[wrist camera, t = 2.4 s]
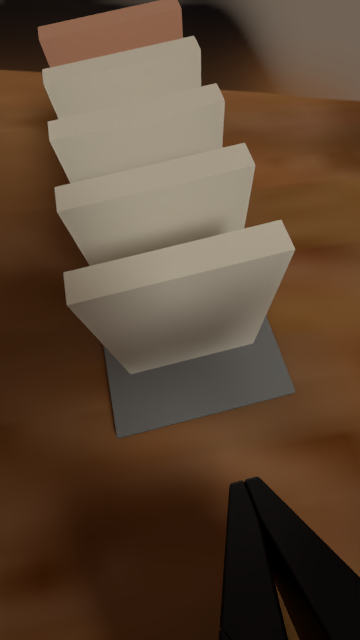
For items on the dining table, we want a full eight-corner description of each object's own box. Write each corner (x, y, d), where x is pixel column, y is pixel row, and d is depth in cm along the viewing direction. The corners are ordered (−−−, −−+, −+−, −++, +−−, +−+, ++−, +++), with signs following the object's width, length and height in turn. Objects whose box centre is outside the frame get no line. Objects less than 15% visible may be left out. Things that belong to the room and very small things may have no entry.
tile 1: (253, 343, 24) (295, 249, 13) (130, 374, 24) (66, 305, 13) (246, 324, 25) (281, 219, 14) (126, 354, 24) (63, 272, 13)
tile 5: (189, 162, 32) (181, 8, 21) (96, 184, 32) (39, 39, 21) (185, 151, 32) (175, -3, 22) (94, 172, 32) (37, 27, 21)
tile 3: (216, 240, 28) (224, 100, 17) (111, 265, 28) (49, 141, 17) (211, 226, 29) (216, 83, 18) (108, 251, 28) (47, 121, 17)
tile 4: (201, 198, 30) (200, 49, 19) (103, 222, 30) (43, 84, 19) (197, 186, 31) (194, 35, 20) (101, 209, 30) (42, 69, 19)
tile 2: (233, 287, 26) (255, 165, 15) (120, 315, 26) (56, 212, 15) (227, 271, 27) (244, 142, 16) (117, 298, 26) (54, 187, 15)
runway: (293, 393, 23) (295, 391, 22) (119, 438, 23) (117, 438, 22) (187, 115, 36) (186, 110, 35) (74, 141, 35) (72, 136, 35)
